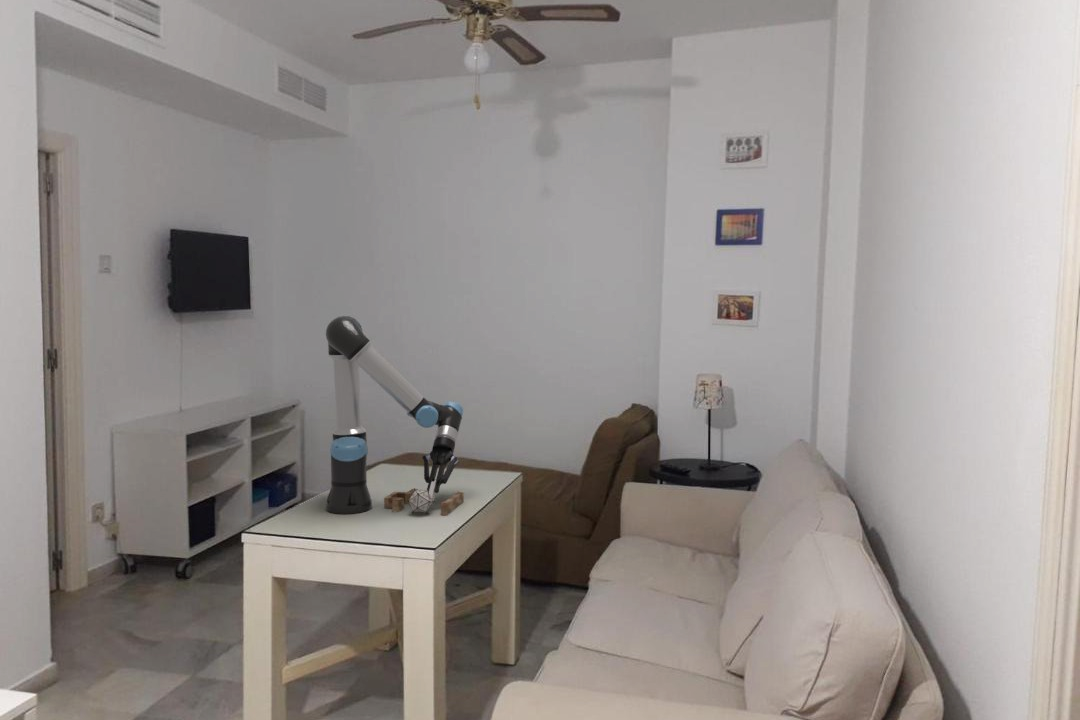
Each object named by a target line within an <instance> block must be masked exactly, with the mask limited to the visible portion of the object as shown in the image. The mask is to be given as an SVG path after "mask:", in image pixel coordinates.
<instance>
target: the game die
mask: <svg viewBox="0 0 1080 720" xmlns="http://www.w3.org/2000/svg"><path fill="white" fill-rule="evenodd" d="M413 489H414V490H415V489H416V488H415V487H414V488H413ZM428 491H429V489H428V490H427V489H426V490H422V489H418V490H415V491H414V492H413V494H412V496H411V497H410V499H409V500H406V501H409V503H410V504H409V506H410V508H411V510H412V512H411V514H414V513H415V512H416V513H425V515H428V510H429V509H430V507H431V506H432V504H433V503H435V500H434V501H432V499H431V497H430V494H429V492H428Z"/></svg>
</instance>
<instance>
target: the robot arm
mask: <svg viewBox="0 0 1080 720" xmlns="http://www.w3.org/2000/svg"><path fill="white" fill-rule="evenodd" d="M325 337H326V341H327V348H328V351H327V353H328V357H329V358H331V359H332V360H333V362H332V363H333V379H334V381H333V382H334V401H335V402H334V403H335V422H336V425H335V426H336V427H335V429H334V430H333V431H332V432H331V433H332V442H331V443H330V444H331V445H330V450H329V452H330V473H331V474H330V477H331V478H330V479H331V481H330V490H329V493H328V496H327V500H326V503H325V510H326V511H327V512H329V513H332V514H341V515H349V514H350V515H351V514H357V513H363V512H368V511H370V510H371V509H372V508H373V501H372V500H373V499H372V498H371V494H370V491H369V489H368V485H367V483H368V482H367V479H368V478H367V460H368V459H367V458H368V457H367V456H368V453H369V451H368V450H369V449H368V448H369V447H368V445H367V441H368V440H367V430H366V428H364V427H363V425H362V411H361V410H362V409H361V408H362V407H361V406H362V405H361V385H360V383H361V382H360V368H361V369H362V370H363V371H364V372H365V373H366V374H367V375H368V376H369V377H370V378H371V379H372V380H373V381H374V382H375V383H377V384H378V385H379V386H380V388H381V389H383V390H384V391H385V392H386V393H387V395H389V396H390V397H391V398H393V400H394V401H395V402H396V403H397V404H398V405H400V407H402V408H403V409H404V411H406V414H407V416H408V417H411V418H413V419H414V420H415V421H416V423H417V424H418V425H419V426H420V427H422V428H425V429H427V428H432V427H434V426H437V430H436V433H435V437H434V441H433V443H432V449H431V451H430V452H429V454H428V455H423V456H422V460H423V478H424V481H425V483H426V484H427V488H426V491H427V490H428V489H429V491H428V492H429V494H430V497H431V499H432V501H435V497H436V494H438V493H439V491H440V487H441V485H443V484H444V485H445V484H447V482H448V480H449V479H450V477H451V475H452V473H453V471H454V469H455V467H456V466H457V465H458V464H459V463H460V462H459V459H458V457H457V456H454V451H455V448H456V443H457V439H458V434H459V432H460V427H461V423H462V420H463V412H464V408H463V406H462V405H461V404H460V403H458V402H456V401H446V402H445V403H443V405H442V404H439V403H436V402H433V401H431V400H429V399H427V398H425V397H424V396H423V395H422V394H421V393H420V392H419V391H418V390H417V389H416V388H415V387H414V386H413V385H412V384H411V383H410V382H408V380H407V379H405V377H403V375H401V373H400V372H399V371H397V369H396V368H394V367H393V366H392V365H391V364H390V363H389V362H388V360H386V359H385V358H384V357H383V356H382V355H381V354H380V353H379V352H378V351H377V350H376V349H375V348H374V347H373V346H372V344H371V343H372V342H371V340H370V339H369V338H368V337H367V336H366V335H365V334H364V332H363V328H362V325H361V324H360V322H359V321H358V320H357V319H355V318H354V317H353V316H350V315H349V316H348V315H340V316H337V317H336V318H334V319H333V320H331V321H330V322H329V323H328V324H327V326H326V329H325ZM431 460H432V466H431V470H430V461H431ZM447 465H448V466H447Z"/></svg>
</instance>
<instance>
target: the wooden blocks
mask: <svg viewBox="0 0 1080 720" xmlns="http://www.w3.org/2000/svg"><path fill="white" fill-rule="evenodd" d="M415 490H419V489H418V488H415ZM415 490H414V488H411V489H410V490H408V491H406V492H405V491H394V492H392V493H390V494H389V495H386V496H384V498H383V499H384V500H383V503H384V504H383V508H384V509H391V508H392V512H393V511H396V512H395V513H399V512H401V511H402V510H404V508H405V506H404V505H405V504H408V503H409V501H406V500H409V499H410V497H411V496H412V494H413V492H414V491H415ZM462 502H463V503H464V491H457V492H455V493H454V494H453V495H452V496H450V497H449V498H448V499H446V500H444V501H441V502H440V515H441V516H448V515H449V514H450V513H451V512H453V511H454V510H455V509H456V508H457V506H458V505H459V506H460V505H462V504H463V503H462ZM404 503H405V504H404ZM459 506H458V507H459ZM401 509H402V510H401ZM452 510H453V511H452ZM398 511H399V512H398ZM448 513H449V514H448ZM447 514H448V515H447Z"/></svg>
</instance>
